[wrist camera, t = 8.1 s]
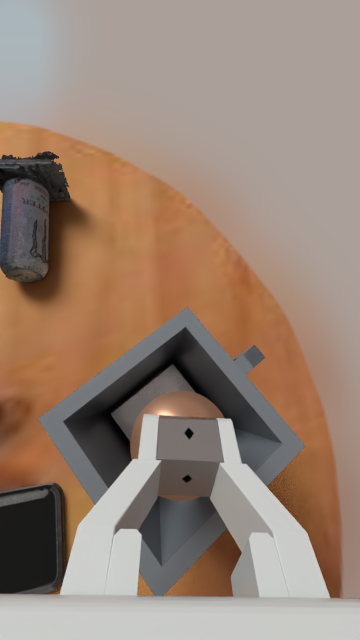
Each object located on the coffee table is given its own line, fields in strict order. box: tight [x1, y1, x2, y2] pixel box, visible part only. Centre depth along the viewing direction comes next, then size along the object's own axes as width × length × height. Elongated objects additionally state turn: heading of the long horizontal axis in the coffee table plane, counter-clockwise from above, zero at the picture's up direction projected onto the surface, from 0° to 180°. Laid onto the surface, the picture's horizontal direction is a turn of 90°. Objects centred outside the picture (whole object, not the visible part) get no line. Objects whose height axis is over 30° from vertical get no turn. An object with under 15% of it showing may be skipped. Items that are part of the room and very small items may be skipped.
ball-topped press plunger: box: [111, 364, 225, 501], centre depth 16 cm, size 6×6×14 cm
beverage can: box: [0, 151, 70, 283], centre depth 29 cm, size 9×8×12 cm
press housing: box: [38, 307, 305, 596], centre depth 21 cm, size 9×12×15 cm
